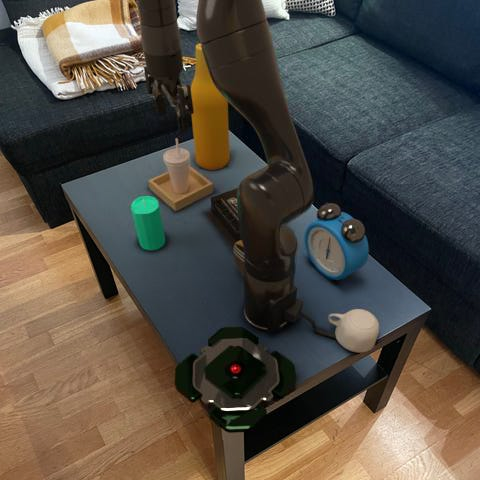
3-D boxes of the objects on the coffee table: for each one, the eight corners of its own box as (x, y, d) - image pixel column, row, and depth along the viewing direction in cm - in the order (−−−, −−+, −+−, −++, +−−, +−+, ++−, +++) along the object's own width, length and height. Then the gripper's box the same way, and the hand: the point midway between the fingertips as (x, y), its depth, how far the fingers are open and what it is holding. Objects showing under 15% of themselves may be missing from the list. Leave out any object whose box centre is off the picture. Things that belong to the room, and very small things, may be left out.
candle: (151, 229, 112) (142, 186, 102) (170, 239, 109) (163, 196, 100) (134, 243, 109) (123, 201, 99) (153, 254, 106) (144, 211, 97)
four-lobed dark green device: (232, 327, 94) (232, 312, 90) (304, 378, 86) (308, 364, 83) (165, 383, 85) (162, 369, 82) (239, 446, 78) (240, 433, 74)
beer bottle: (204, 174, 124) (194, 59, 101) (190, 156, 129) (177, 42, 107) (235, 164, 127) (233, 49, 104) (220, 147, 132) (214, 34, 109)
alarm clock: (300, 257, 105) (307, 203, 93) (321, 245, 107) (330, 191, 95) (342, 292, 99) (355, 239, 87) (363, 279, 101) (378, 225, 89)
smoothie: (190, 198, 118) (183, 147, 106) (165, 195, 118) (156, 144, 107) (196, 182, 121) (191, 132, 110) (172, 180, 122) (165, 129, 111)
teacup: (376, 342, 84) (367, 359, 88) (389, 314, 88) (380, 331, 93) (324, 318, 86) (318, 336, 91) (339, 292, 91) (333, 310, 95)
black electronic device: (204, 212, 115) (198, 149, 101) (254, 194, 119) (255, 131, 105) (244, 264, 104) (243, 201, 91) (297, 242, 108) (305, 179, 94)
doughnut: (231, 266, 104) (230, 231, 96) (245, 259, 105) (245, 225, 97) (255, 293, 99) (255, 259, 91) (269, 286, 100) (271, 252, 92)
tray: (213, 192, 120) (212, 183, 118) (175, 211, 115) (174, 202, 113) (186, 171, 125) (185, 162, 123) (149, 189, 121) (148, 180, 119)
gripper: (126, 39, 95) (141, 116, 108) (166, 63, 88) (177, 142, 101) (157, 29, 98) (168, 105, 111) (198, 51, 91) (205, 129, 104)
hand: (172, 123), depth 106 cm, fingers open, 8 cm apart
